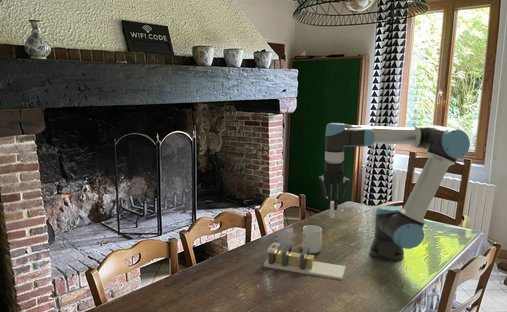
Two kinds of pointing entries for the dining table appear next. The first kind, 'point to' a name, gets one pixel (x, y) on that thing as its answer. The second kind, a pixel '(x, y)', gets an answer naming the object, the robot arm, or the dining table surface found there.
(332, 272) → the slab
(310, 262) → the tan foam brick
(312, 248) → the mug
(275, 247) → the collars
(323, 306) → the dining table surface
